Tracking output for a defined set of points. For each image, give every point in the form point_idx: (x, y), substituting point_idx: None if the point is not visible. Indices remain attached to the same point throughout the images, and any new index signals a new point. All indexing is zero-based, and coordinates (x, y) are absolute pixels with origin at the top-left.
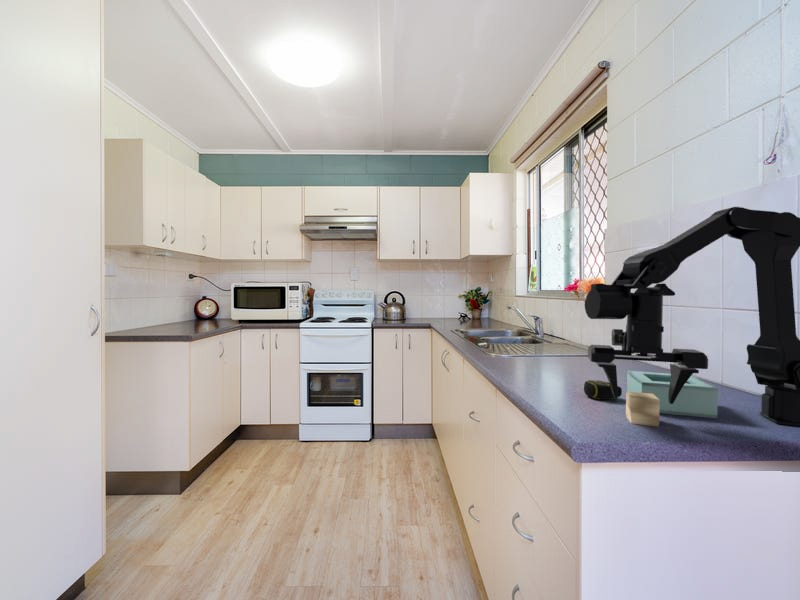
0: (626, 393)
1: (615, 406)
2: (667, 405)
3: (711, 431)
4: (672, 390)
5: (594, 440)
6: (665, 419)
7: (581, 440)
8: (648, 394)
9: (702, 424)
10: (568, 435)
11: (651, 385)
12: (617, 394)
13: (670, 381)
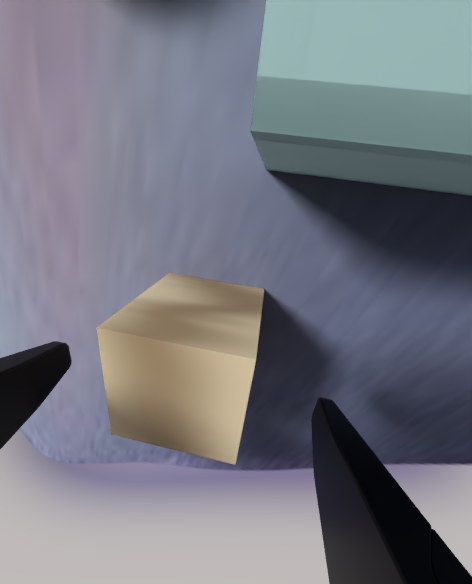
0: (104, 327)
1: (154, 89)
2: (423, 184)
3: (412, 395)
4: (328, 522)
5: (72, 452)
6: (321, 286)
7: (50, 452)
8: (218, 380)
9: (451, 328)
10: (25, 433)
11: (368, 148)
12: (50, 391)
13: (387, 572)
